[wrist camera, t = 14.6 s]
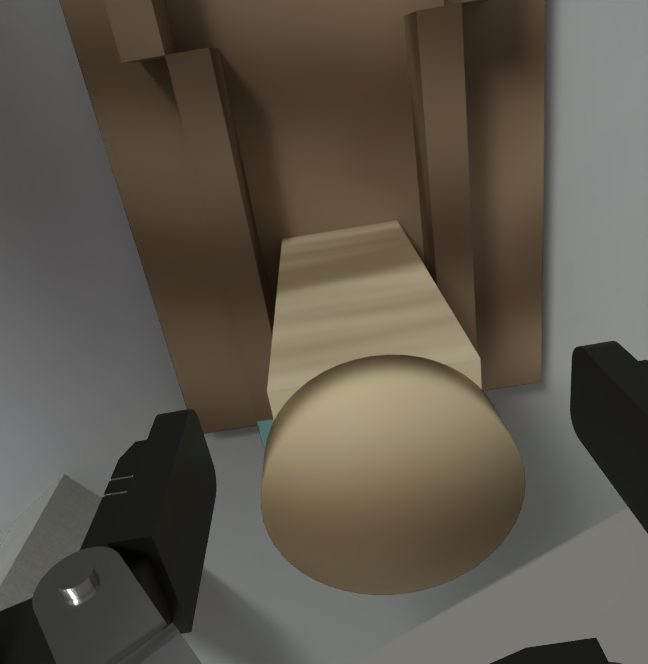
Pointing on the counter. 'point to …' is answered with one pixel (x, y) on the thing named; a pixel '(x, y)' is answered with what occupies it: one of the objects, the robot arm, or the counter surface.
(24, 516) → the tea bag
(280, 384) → the maple peg
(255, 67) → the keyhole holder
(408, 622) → the counter surface
